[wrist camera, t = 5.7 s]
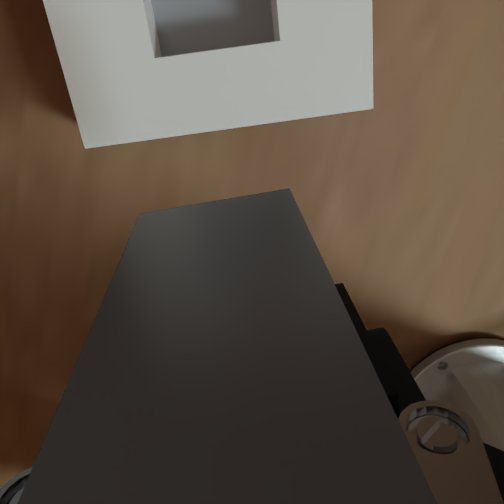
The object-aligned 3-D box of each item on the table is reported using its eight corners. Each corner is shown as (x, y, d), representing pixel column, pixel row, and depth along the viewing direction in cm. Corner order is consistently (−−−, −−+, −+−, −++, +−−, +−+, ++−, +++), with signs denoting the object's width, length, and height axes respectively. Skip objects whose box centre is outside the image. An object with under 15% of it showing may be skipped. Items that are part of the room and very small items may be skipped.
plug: (289, 188, 13) (437, 503, 4) (315, 409, 17) (421, 812, 8) (139, 213, 13) (-16, 579, 4) (200, 429, 17) (183, 852, 8)
